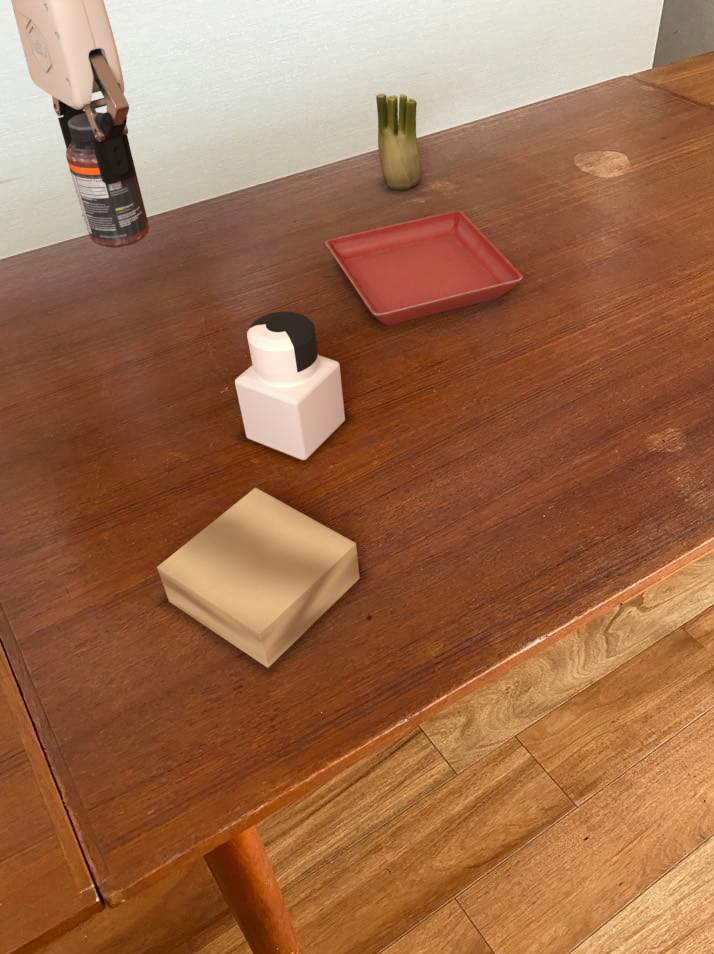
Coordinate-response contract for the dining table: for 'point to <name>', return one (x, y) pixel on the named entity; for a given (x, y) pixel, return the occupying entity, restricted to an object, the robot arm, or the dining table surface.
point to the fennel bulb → (398, 142)
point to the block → (260, 575)
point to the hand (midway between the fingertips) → (102, 166)
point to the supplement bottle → (104, 193)
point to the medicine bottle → (289, 386)
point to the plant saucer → (423, 267)
